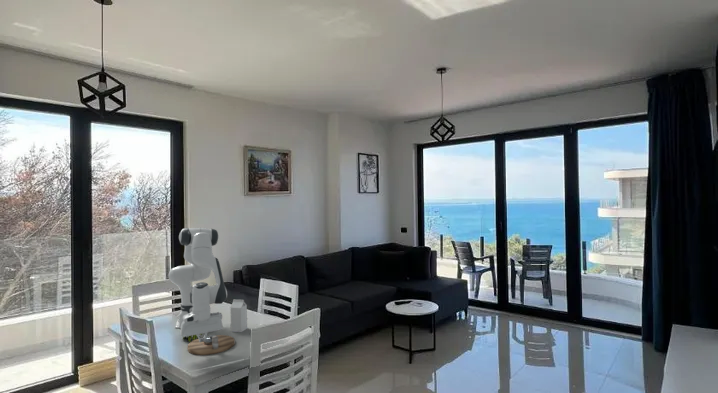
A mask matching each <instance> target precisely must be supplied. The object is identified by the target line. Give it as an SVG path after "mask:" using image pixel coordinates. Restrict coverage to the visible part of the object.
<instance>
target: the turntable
mask: <svg viewBox="0 0 718 393" xmlns="http://www.w3.org/2000/svg"><path fill="white" fill-rule="evenodd" d="M215 335H216V336H213V337H212V345H204V342H199V338H197V339H195V340H194V341H193V340H191V342H189V343H188V344H187V352H188V353H189V354H191V355H196V356H208V355H214V354H219V353H223V352H225V351H228V350H230V349H232V348H233V347H234V346H235V338H234V337H233V336H231V335H228V334H227V335H225V334H215ZM203 337H204V336H202V337H201V338H203Z"/></svg>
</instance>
